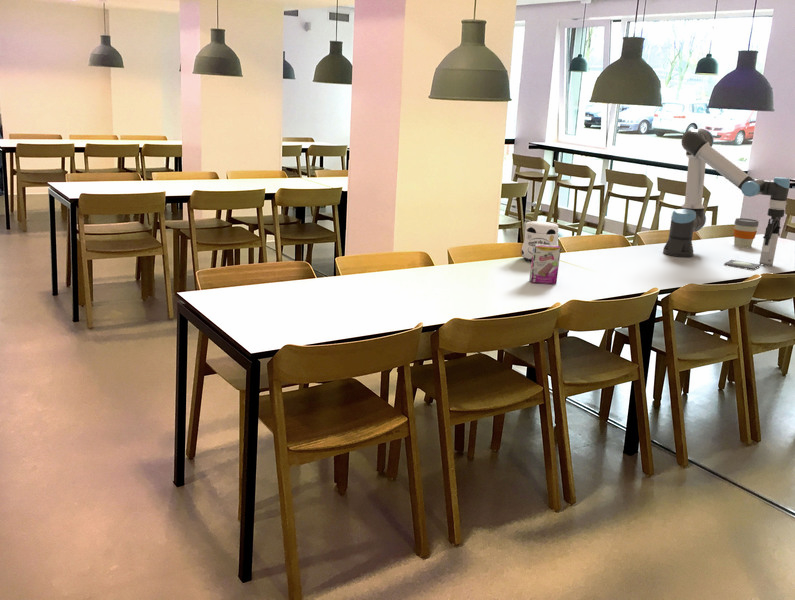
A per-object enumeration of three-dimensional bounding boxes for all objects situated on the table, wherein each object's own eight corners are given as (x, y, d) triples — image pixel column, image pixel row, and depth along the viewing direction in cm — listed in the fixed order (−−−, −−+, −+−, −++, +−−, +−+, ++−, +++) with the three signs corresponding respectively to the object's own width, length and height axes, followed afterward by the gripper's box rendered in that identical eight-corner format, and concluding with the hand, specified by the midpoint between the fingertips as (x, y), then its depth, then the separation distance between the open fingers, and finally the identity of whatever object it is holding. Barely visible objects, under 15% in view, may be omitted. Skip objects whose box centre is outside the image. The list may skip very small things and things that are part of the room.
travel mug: (771, 266, 388) (779, 227, 382) (757, 264, 392) (765, 225, 386) (774, 264, 393) (781, 226, 387) (760, 262, 396) (767, 224, 391)
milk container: (532, 265, 362) (536, 227, 357) (514, 257, 378) (517, 221, 373) (563, 263, 369) (567, 227, 364) (544, 256, 384) (547, 220, 379)
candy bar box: (531, 283, 328) (535, 245, 323) (528, 280, 332) (532, 243, 328) (557, 284, 328) (561, 247, 324) (554, 281, 333) (558, 244, 328)
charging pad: (724, 265, 386) (724, 262, 386) (731, 261, 395) (731, 259, 395) (753, 270, 378) (753, 267, 377) (760, 266, 387) (760, 264, 386)
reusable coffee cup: (725, 243, 444) (730, 218, 440) (743, 243, 448) (748, 218, 444) (741, 248, 433) (745, 222, 429) (759, 248, 437) (764, 222, 432)
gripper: (778, 211, 373) (770, 254, 378) (790, 207, 391) (783, 248, 397) (762, 209, 377) (754, 251, 383) (775, 205, 396) (767, 245, 402)
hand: (769, 249), depth 390 cm, fingers open, 13 cm apart
